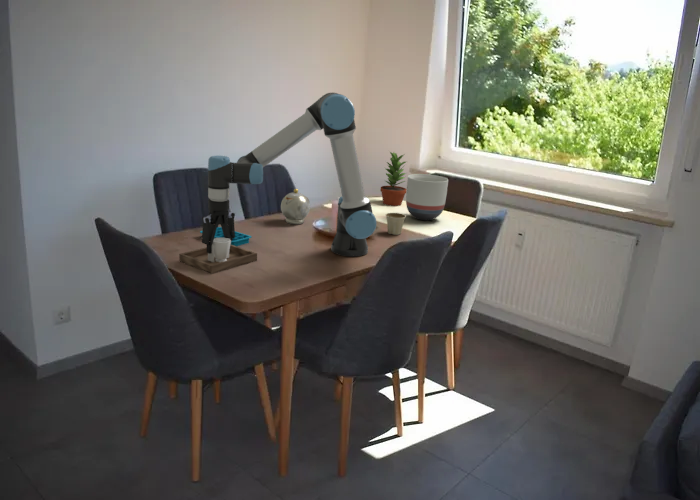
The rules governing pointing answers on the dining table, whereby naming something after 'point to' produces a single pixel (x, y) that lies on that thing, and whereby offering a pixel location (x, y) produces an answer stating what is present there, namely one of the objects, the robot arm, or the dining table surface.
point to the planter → (426, 195)
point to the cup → (221, 249)
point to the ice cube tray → (236, 241)
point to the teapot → (295, 207)
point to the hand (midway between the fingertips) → (218, 259)
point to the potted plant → (394, 183)
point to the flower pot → (395, 223)
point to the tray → (201, 258)
